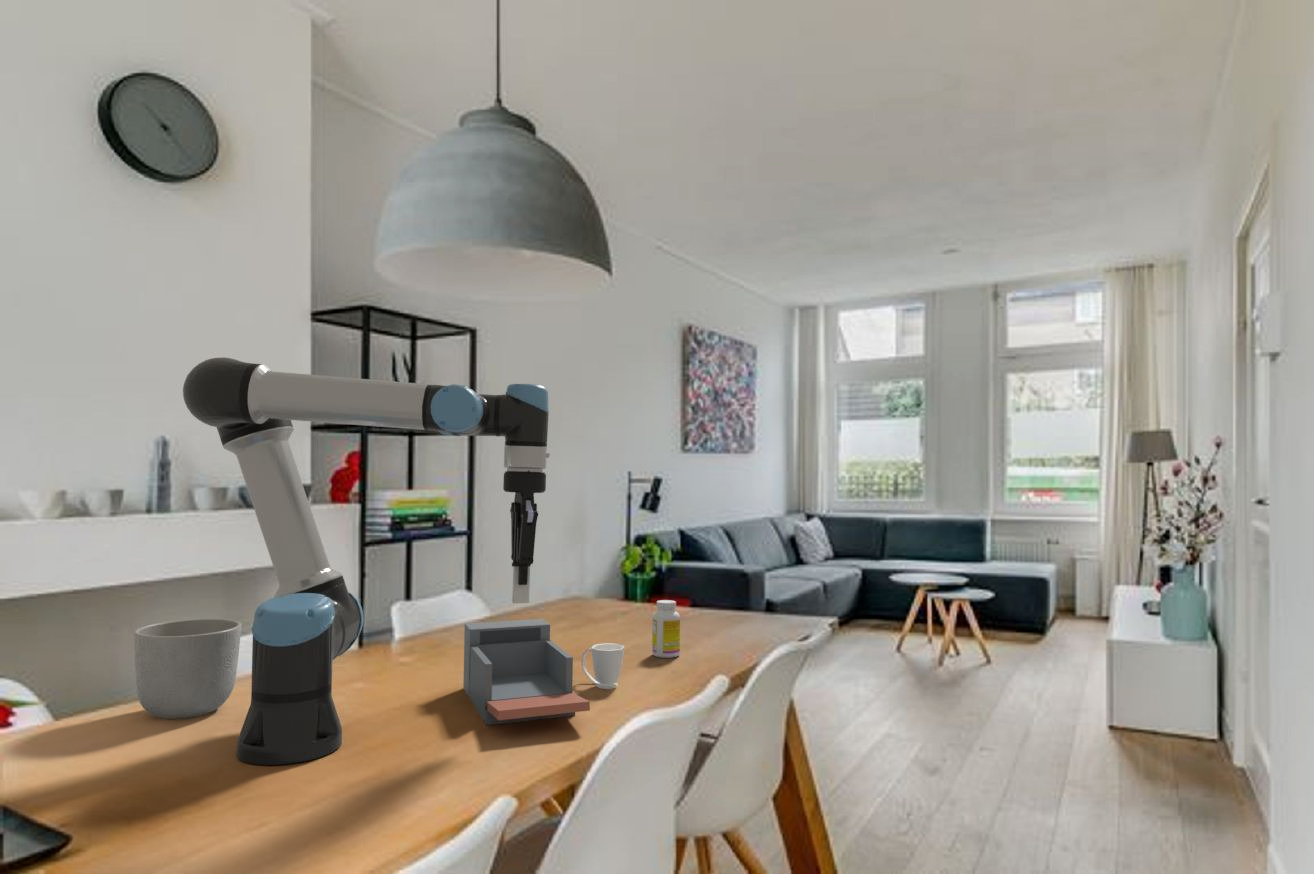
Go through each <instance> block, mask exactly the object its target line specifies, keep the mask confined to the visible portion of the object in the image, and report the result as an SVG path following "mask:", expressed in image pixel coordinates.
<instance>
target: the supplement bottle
mask: <svg viewBox="0 0 1314 874" xmlns="http://www.w3.org/2000/svg"><path fill="white" fill-rule="evenodd" d="M676 607H677V601H675V600H671V599H670V600H669V599H661V600H657V601H656V608H657V610H656V611H654V613H652V627H651V628H652V629H651V631H652V634H651V635H652V637H651V639H652V640H651V641H652V642H651V643H652V644H651V645H652V647H651V648H652V650H651V652H652V655H653V656H654V657H656V658H663V659H670V658H671V659H672V658H676V657H678V656H680V654H681V653H680V652H681V616H680V613H679V612H678V611H676Z"/></svg>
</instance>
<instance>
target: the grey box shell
mask: <svg viewBox="0 0 1314 874" xmlns="http://www.w3.org/2000/svg"><path fill="white" fill-rule="evenodd" d="M463 634H464V639H463V640H464V641H463V645H464V646H463V650H464V651H463V685H462V686H463V688H462V689H463V690H464V692H465V694H466V695H467V696H468V698H469V673H470V645H482V644H496V643H510V642H524V641H538V640H551V624H550V623H549V622H547V621H546V620H545V619H543V618H534V619H531V618H530V619H518V620H517V619H516V620H501V621H500V620H499V621H486V622H483V621H482V622H467V623H464V633H463Z"/></svg>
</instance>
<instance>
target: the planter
mask: <svg viewBox="0 0 1314 874" xmlns="http://www.w3.org/2000/svg"><path fill="white" fill-rule="evenodd" d="M242 627H243V624H242V622H240V621H238V620H234V619H227V618H191V619H180V620H179V619H178V620H171V621H164V622H158V623H152V624H148V625H145V626H142V627H139V628H137V629H135V630H134V631H133V635H132V636H133V651H134V652H133V654H134V655H133V656H134V657H133V658H134V673H135V690H136V695H137V698H138V701H139V704H140V705H141V707H142V709H144V710H145V712H147V713H148V714H149V715H151V716H153V717H154V718H158V719H159V718H161V719H166V720H182V719H189V718H195V717H199V716H203V715H207V714H209V713H212V712H214V711H216V710H218V709H220V707H222V706H223V705H224V703H226V702H227V701H228V699H229V698H230V696H231V695H232V693H233V690H234V688H235V684H236V679H237V672H238V664H239V654H240V646H241V645H240V644H241V635H242V634H241V633H242Z"/></svg>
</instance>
